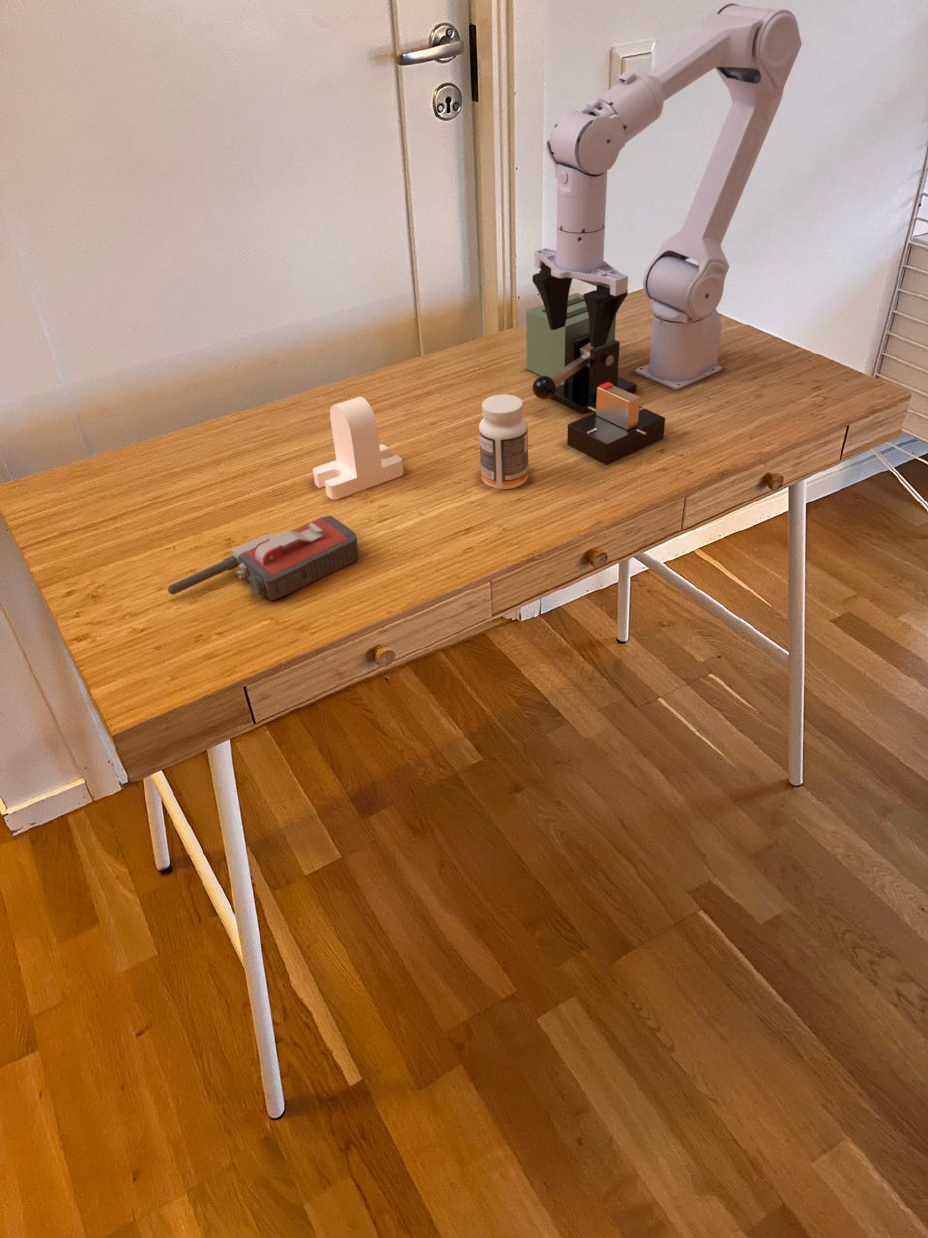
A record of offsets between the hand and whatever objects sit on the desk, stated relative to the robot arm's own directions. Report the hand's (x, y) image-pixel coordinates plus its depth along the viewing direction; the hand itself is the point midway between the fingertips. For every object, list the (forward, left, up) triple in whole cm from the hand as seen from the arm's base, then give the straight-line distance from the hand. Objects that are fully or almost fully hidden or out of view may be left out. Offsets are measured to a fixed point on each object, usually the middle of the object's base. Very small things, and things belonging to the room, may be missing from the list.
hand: (577, 336), depth 122 cm
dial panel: (+3, +10, -10) cm, 15 cm away
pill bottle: (+19, +8, -10) cm, 23 cm away
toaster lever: (0, -1, -6) cm, 6 cm away
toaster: (-7, -9, -10) cm, 15 cm away
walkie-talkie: (+50, +7, -10) cm, 51 cm away
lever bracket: (-4, -1, -10) cm, 11 cm away
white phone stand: (+32, -4, -10) cm, 34 cm away
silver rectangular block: (+3, +10, -7) cm, 13 cm away
